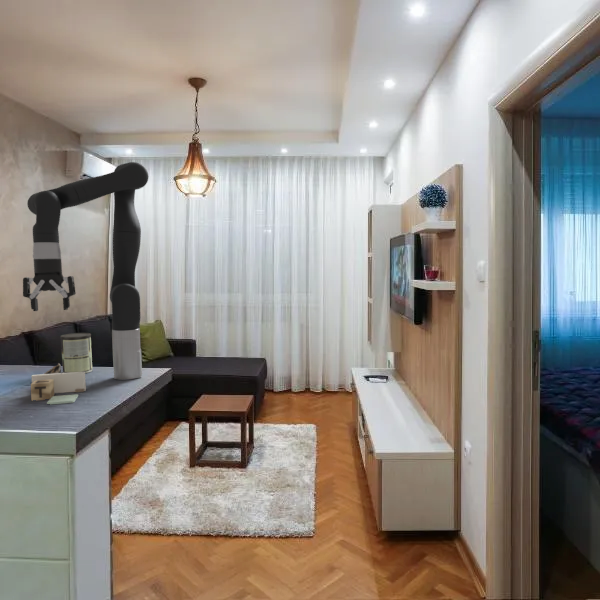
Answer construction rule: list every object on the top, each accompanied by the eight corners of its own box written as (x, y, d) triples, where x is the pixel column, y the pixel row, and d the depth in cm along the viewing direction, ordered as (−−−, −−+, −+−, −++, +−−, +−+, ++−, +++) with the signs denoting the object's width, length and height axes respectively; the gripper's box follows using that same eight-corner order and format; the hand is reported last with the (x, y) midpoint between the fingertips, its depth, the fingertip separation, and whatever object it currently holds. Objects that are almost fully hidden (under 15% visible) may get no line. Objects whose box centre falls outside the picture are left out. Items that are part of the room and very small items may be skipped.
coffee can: (57, 372, 175) (55, 335, 174) (83, 367, 183) (81, 332, 182) (71, 376, 169) (69, 337, 168) (98, 370, 177) (96, 334, 176)
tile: (78, 396, 143) (78, 394, 143) (73, 402, 136) (73, 400, 136) (52, 398, 141) (52, 396, 141) (47, 404, 134) (46, 402, 134)
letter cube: (54, 395, 144) (53, 379, 144) (50, 399, 140) (49, 382, 139) (36, 396, 143) (35, 380, 143) (31, 401, 138) (30, 384, 138)
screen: (86, 389, 151) (85, 370, 150) (84, 391, 148) (83, 373, 147) (34, 393, 147) (33, 374, 146) (31, 395, 144) (30, 376, 143)
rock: (61, 386, 149) (70, 362, 156) (37, 379, 146) (47, 355, 153) (53, 401, 153) (61, 377, 161) (29, 395, 150) (39, 370, 157)
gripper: (75, 257, 149) (78, 308, 150) (26, 258, 146) (29, 310, 147) (69, 257, 141) (72, 310, 143) (17, 258, 138) (21, 312, 140)
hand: (50, 310), depth 145 cm, fingers open, 8 cm apart
